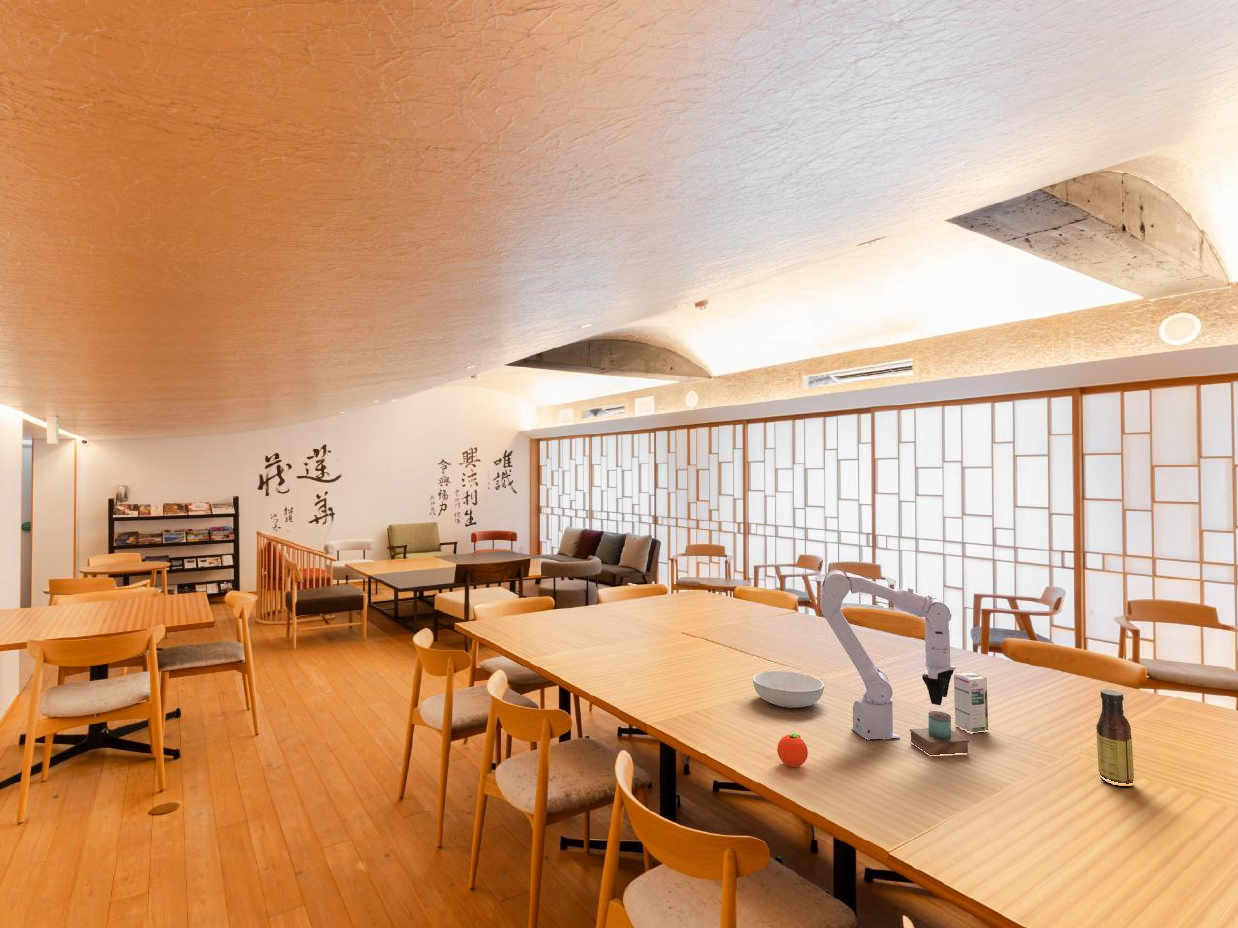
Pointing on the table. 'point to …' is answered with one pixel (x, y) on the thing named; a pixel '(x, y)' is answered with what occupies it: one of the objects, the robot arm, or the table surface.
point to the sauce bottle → (1114, 740)
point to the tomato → (792, 750)
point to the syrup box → (971, 702)
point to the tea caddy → (939, 724)
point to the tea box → (939, 742)
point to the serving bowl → (788, 688)
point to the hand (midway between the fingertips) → (939, 700)
